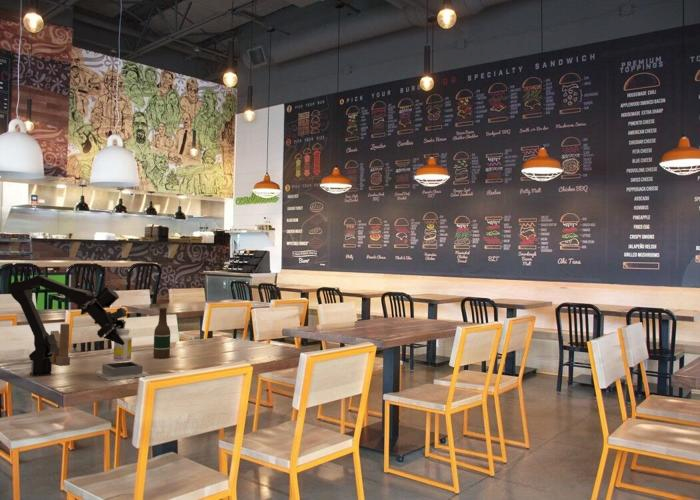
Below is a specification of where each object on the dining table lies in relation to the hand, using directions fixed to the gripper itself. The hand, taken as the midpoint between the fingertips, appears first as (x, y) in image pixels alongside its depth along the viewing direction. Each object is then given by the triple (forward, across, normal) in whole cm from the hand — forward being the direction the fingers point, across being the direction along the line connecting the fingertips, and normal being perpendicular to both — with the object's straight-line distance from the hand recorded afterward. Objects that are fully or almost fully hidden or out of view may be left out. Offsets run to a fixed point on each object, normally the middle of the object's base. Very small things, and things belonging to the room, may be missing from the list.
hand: (126, 343), depth 242 cm
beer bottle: (+12, +44, +7) cm, 46 cm away
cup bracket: (+8, 0, +10) cm, 13 cm away
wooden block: (-15, +23, +35) cm, 44 cm away
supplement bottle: (+4, 0, +6) cm, 7 cm away
